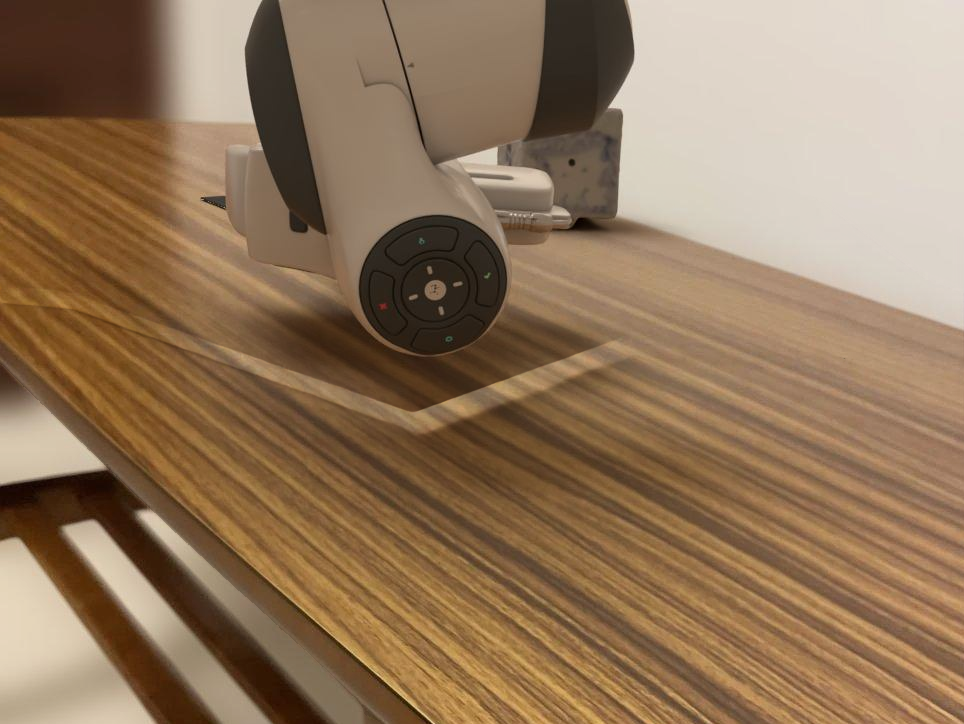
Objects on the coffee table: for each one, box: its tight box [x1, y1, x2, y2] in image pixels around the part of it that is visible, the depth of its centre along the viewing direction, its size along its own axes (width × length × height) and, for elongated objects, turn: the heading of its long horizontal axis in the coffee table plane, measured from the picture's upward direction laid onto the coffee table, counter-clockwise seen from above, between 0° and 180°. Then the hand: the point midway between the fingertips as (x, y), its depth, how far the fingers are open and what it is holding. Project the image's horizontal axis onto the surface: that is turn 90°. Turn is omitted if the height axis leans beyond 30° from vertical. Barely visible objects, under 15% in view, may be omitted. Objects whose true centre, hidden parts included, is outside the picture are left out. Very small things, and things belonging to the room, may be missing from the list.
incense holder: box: [496, 107, 624, 229], centre depth 111 cm, size 10×8×10 cm
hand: (382, 170), depth 83 cm, fingers open, 8 cm apart
